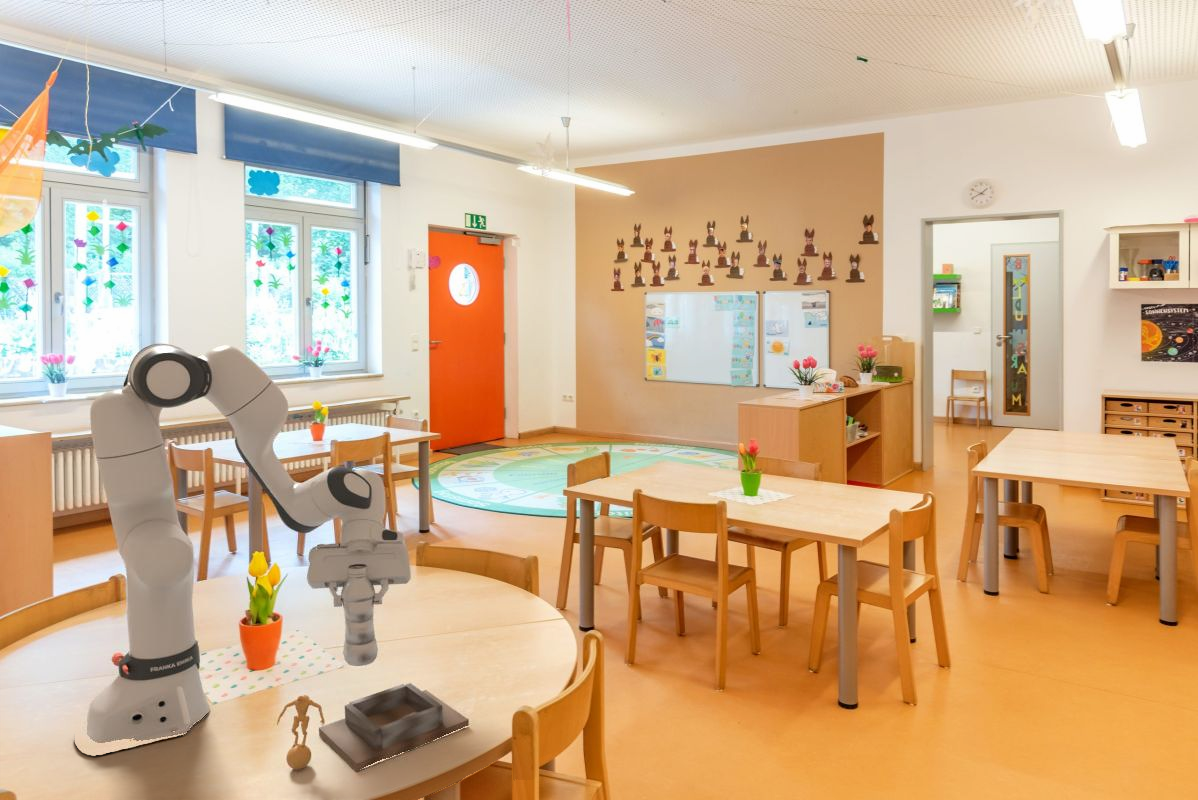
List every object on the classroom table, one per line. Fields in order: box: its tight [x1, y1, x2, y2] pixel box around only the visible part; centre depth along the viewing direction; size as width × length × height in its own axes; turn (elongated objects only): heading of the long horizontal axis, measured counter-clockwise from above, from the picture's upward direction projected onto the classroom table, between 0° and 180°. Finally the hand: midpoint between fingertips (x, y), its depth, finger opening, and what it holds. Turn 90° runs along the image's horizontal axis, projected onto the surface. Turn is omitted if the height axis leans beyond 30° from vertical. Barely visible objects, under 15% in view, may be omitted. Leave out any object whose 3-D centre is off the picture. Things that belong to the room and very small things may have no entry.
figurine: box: [276, 694, 325, 770], centre depth 142 cm, size 8×6×12 cm
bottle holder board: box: [318, 682, 470, 772], centre depth 153 cm, size 22×16×5 cm
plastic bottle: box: [340, 564, 379, 667], centre depth 165 cm, size 6×7×20 cm
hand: (358, 604), depth 164 cm, fingers closed on plastic bottle, 6 cm apart
